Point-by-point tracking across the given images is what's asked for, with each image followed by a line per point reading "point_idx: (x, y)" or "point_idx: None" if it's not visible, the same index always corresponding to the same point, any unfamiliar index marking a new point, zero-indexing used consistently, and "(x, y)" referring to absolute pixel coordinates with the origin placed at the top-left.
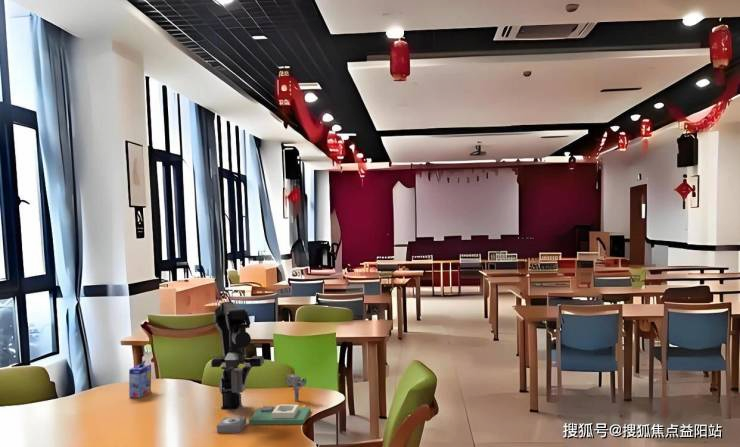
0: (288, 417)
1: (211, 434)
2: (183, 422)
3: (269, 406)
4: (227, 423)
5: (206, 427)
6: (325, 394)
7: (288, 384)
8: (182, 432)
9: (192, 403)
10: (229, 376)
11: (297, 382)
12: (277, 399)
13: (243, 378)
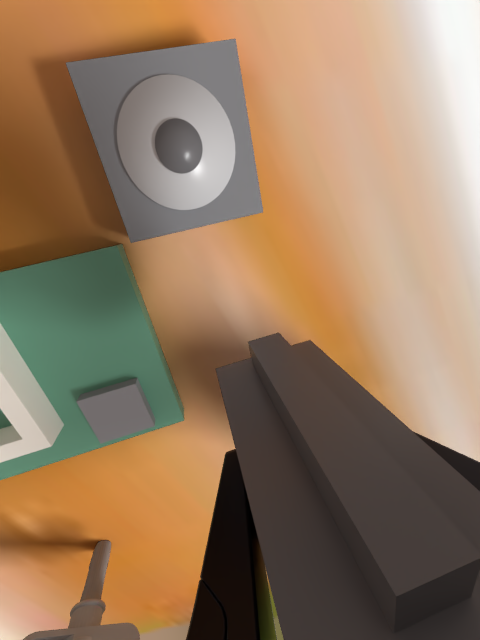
0: None
1: (243, 26)
2: (448, 198)
3: (121, 433)
4: (174, 78)
5: (323, 149)
6: (34, 626)
7: (128, 626)
8: (414, 44)
9: (467, 393)
10: (473, 468)
11: None
12: (191, 525)
13: (242, 520)
